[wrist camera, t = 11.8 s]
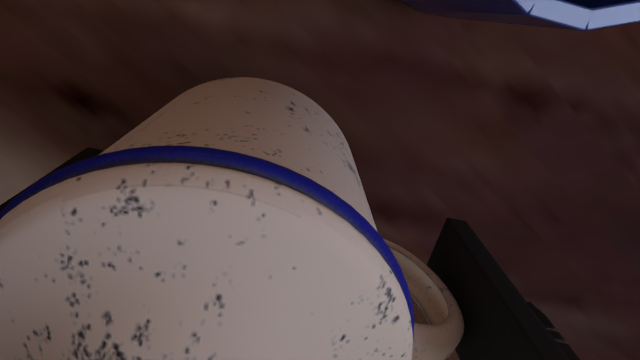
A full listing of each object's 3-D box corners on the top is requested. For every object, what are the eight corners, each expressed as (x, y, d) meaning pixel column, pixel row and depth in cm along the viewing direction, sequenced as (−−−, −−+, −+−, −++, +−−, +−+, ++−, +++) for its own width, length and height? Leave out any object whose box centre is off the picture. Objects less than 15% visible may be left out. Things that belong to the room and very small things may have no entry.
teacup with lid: (122, 239, 17) (-189, 645, 6) (159, 30, 13) (-414, 136, 3) (371, 303, 19) (461, 685, 8) (460, 138, 15) (809, 433, 5)
